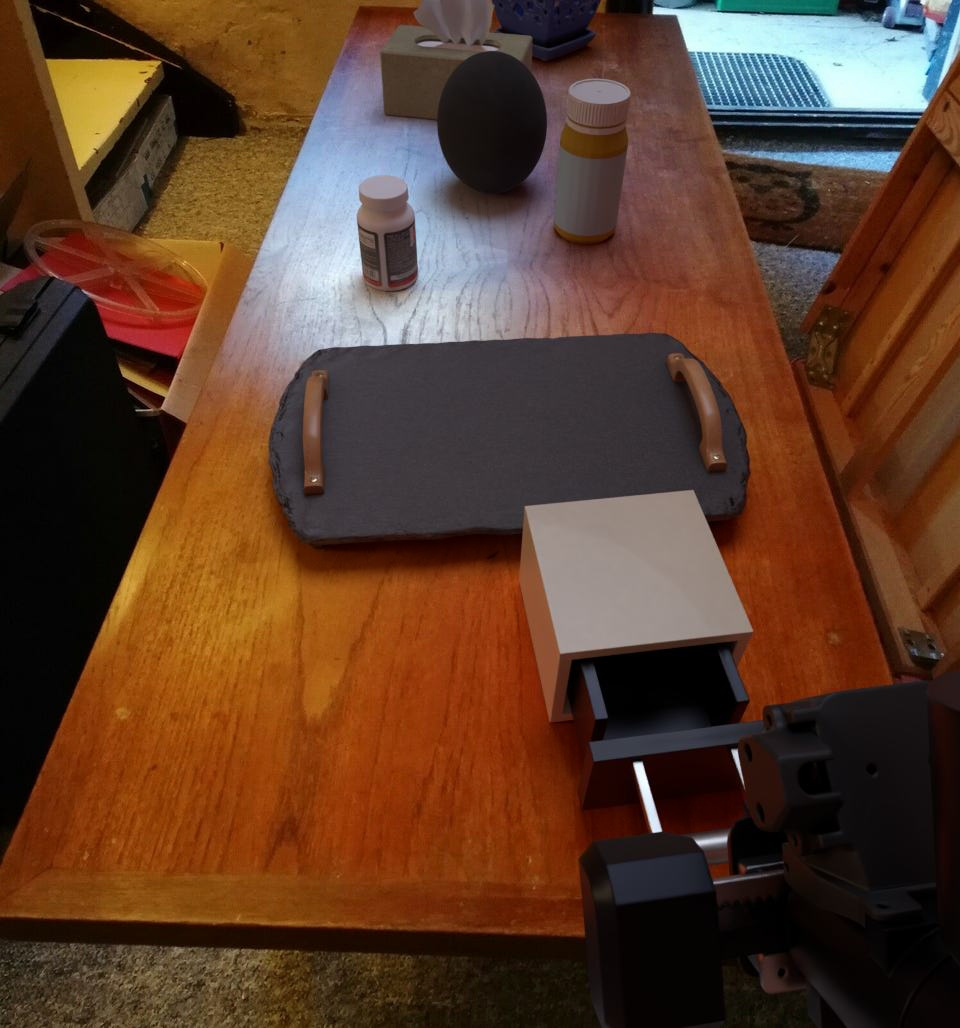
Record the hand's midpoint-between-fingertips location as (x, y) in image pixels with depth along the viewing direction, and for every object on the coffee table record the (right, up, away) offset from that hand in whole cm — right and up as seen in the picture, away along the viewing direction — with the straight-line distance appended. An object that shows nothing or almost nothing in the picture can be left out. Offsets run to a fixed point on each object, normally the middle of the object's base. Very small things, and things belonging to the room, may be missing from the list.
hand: (750, 811), depth 38 cm
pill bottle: (-21, +38, +51) cm, 67 cm away
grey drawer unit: (-3, +5, +21) cm, 22 cm away
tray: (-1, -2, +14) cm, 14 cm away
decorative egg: (-11, +52, +64) cm, 83 cm away
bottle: (0, +45, +58) cm, 73 cm away
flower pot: (-2, +85, +94) cm, 127 cm away
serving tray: (-10, +19, +34) cm, 40 cm away
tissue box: (-15, +69, +79) cm, 106 cm away
